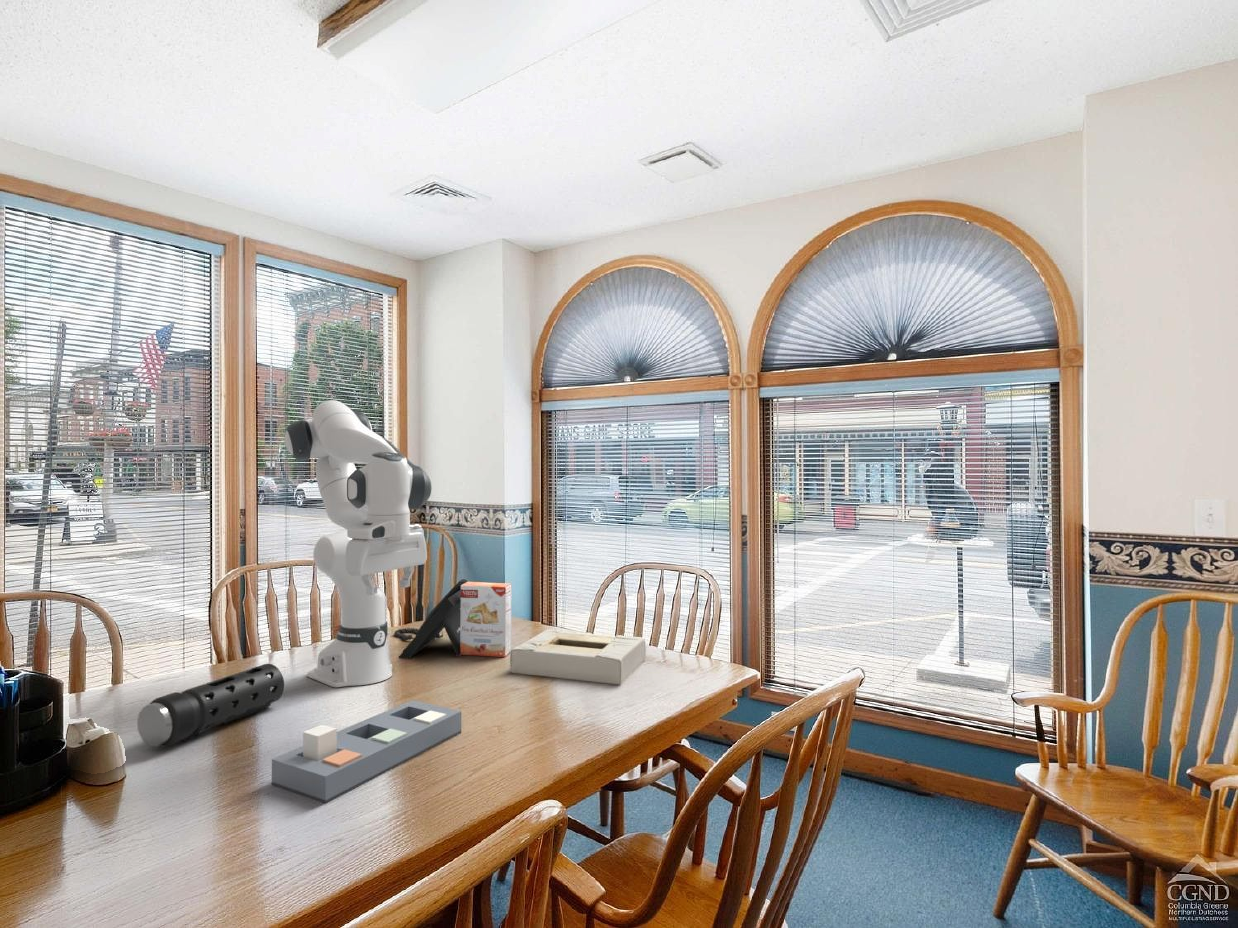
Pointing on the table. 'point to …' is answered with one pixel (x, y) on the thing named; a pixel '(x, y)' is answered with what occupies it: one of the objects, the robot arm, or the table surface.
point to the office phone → (437, 624)
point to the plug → (319, 742)
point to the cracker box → (485, 619)
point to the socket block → (367, 750)
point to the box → (579, 656)
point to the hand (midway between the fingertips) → (388, 590)
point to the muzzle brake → (209, 705)
